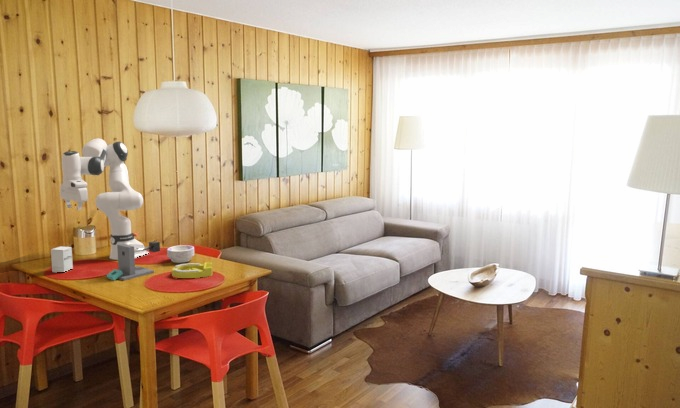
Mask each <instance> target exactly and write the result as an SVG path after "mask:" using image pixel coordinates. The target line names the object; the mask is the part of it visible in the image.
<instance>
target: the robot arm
mask: <svg viewBox="0 0 680 408" xmlns="http://www.w3.org/2000/svg"><path fill="white" fill-rule="evenodd" d="M81 153H82V156H80V153H79V152H78V151H77V150H69V151H67V150H66V151H65V152H63V153H62V157H61V169H62V172H63V173H62V182H61V185H60V187H59V196H60V199H62V200H64V201H65V204H66V208H68V209H71V208H72V207H73V205H72V204H71V201H73V202H77V206H76V210H77V211H82V209H83V203H86V202H87V201H88V199H89V195H88V194H89V193H88V188H87V187H88V182H86V181H85V180H84V179H83V176H82V175H84V176H86V175H87V176H89V175H90V176H91V175H92V176H100V175H101V174H102V173H103V172H104V170H105V168H106V167H109V172H108V187H109V189H110V190H111V191H107V192H101V193H98V194H97V196H96V198H95V202H94V203H95V206H96V208H97V209H98V210H100V211H101V212H102V213H103V214H104V215H105V216H106V218H107V219H108V221H109V225H110V243H111V244H110V245H111V246H110V254H109V260H116V261H118V250H117V245H119V244H126V245H130V246H134V250H135V249H140V248H144V247H145V245H144V243H143V242H141V241H139V240H137V239H136V237H138V233H136V232H134V233H133V232H132V222H131V220H130V218H129V217H127V216H124V215H122V214H121V213H120V211H133V210H138V209H140V208H142V206H143V204H144V197H143V195H142V194H141V192H139V191H137V190H135V189H133V187H131V185H130V178H129V170H128V168H127V165H126V164H125V162H126V161H127V158H128V155H129V154H128V153H129V150H128V148H127V146H126V145H125V143H124V142H122V141H116V142H113V143H111V144H107V142H106V140H104V139H102V138H99V137H97V138H94V139H91V140H89V141H88V142H87V143H85V144H84V145H83V147H82V151H81ZM148 253H149V254H150V251H149V250H144V251H140V252H135V253H134V256H135V259H138V258H140V257H139V256H141V257H144V256H146V255H145V254H147V255H149V254H148ZM143 255H144V256H143ZM137 257H138V258H137Z"/></svg>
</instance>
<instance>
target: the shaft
mask: <svg viewBox="0 0 680 408" xmlns="http://www.w3.org/2000/svg"><path fill="white" fill-rule="evenodd" d="M160 242H161V241H156V240H154V241H149V242H148V246H144V248H140V249H135V250H134V253H135V252H140V251H144V250H146V251H148V252H149V253H150V252H151V253H157V252H160V251H161V243H160Z"/></svg>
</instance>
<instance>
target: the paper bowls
mask: <svg viewBox="0 0 680 408" xmlns="http://www.w3.org/2000/svg"><path fill="white" fill-rule="evenodd" d="M166 256H167V258H168V259H170V260H171V262H173V263H176V264H185V263H188V262H190V261H191V260H192V257H194V256H195V246H193V245H189V244H184V245H183V244H180V245H174V246H170V247H168V248H167V249H166Z"/></svg>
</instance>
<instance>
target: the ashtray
mask: <svg viewBox="0 0 680 408" xmlns="http://www.w3.org/2000/svg"><path fill="white" fill-rule="evenodd" d="M213 270H214V269H213V263H212V262H204V263H203V264H201V263H197V262H196V263H194V262H193V263H191V262H189V263H188V262H186V263H179V264H176V265H175V266H174V267H173V268H171V277H172V276H174V277H178V278H195V279H201V278H200V277H203V278H208V276H209V277H212V276H213V273H214V272H213ZM174 277H173V278H174Z"/></svg>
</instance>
